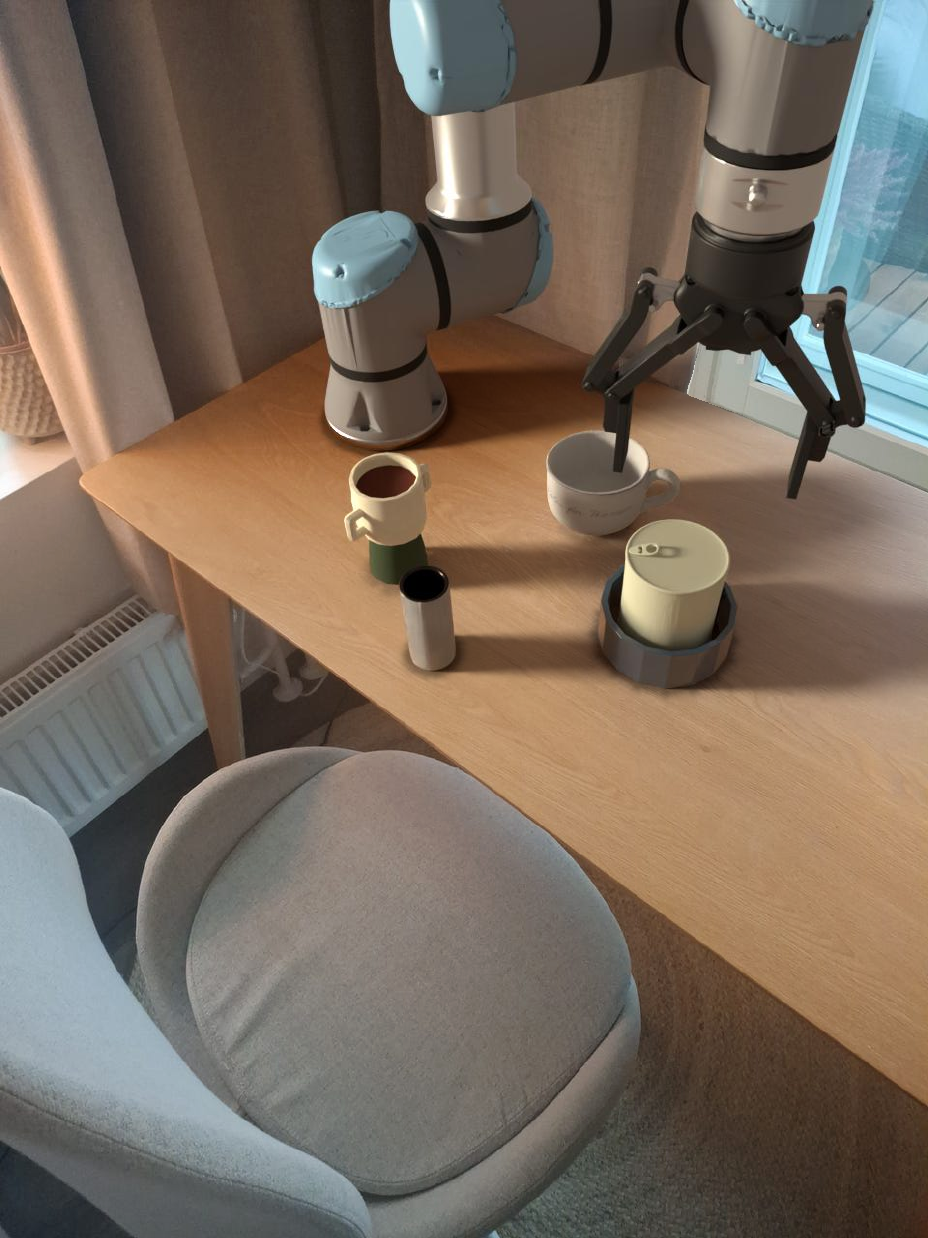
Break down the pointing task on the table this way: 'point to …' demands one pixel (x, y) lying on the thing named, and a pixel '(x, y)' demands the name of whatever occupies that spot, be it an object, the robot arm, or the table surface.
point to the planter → (428, 617)
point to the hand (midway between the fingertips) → (704, 474)
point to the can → (672, 584)
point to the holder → (659, 663)
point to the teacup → (601, 483)
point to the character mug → (389, 512)
